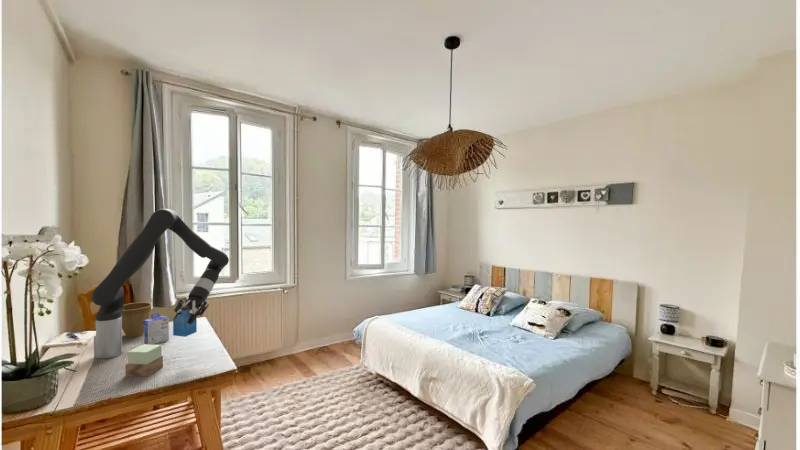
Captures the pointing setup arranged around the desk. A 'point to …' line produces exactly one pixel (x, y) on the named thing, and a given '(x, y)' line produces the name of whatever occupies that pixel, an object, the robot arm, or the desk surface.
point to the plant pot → (135, 318)
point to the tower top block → (144, 354)
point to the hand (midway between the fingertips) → (182, 322)
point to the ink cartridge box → (156, 329)
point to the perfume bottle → (184, 323)
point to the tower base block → (144, 368)
